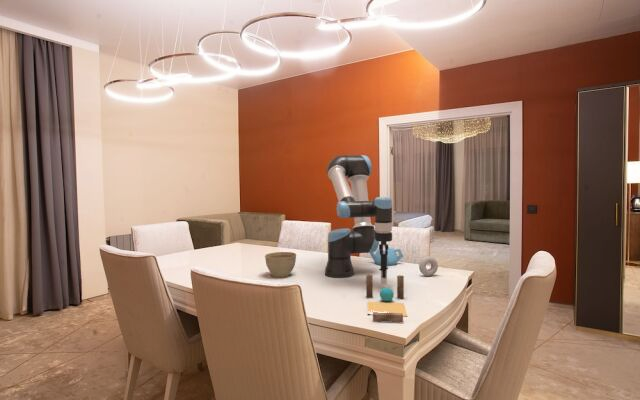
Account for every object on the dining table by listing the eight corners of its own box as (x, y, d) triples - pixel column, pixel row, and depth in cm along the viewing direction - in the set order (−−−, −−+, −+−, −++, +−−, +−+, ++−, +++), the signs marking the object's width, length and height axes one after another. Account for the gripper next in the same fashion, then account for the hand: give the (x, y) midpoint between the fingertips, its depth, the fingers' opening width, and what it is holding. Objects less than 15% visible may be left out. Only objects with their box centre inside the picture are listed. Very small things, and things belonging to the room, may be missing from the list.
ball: (379, 302, 148) (380, 299, 143) (379, 288, 150) (380, 285, 146) (393, 303, 147) (394, 300, 142) (393, 289, 150) (394, 286, 145)
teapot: (384, 267, 204) (384, 248, 203) (367, 263, 217) (367, 245, 216) (404, 264, 212) (404, 245, 212) (386, 259, 225) (386, 242, 224)
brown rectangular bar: (373, 321, 125) (373, 314, 125) (373, 319, 127) (372, 312, 127) (402, 322, 124) (402, 315, 124) (402, 320, 126) (402, 313, 126)
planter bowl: (276, 270, 201) (276, 250, 200) (302, 273, 194) (301, 253, 193) (258, 277, 187) (258, 256, 186) (285, 281, 179) (285, 258, 179)
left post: (366, 297, 151) (366, 276, 151) (366, 295, 154) (366, 274, 153) (372, 298, 151) (372, 276, 150) (372, 296, 153) (372, 274, 153)
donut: (435, 274, 187) (435, 255, 187) (439, 276, 184) (439, 256, 184) (417, 275, 185) (417, 256, 185) (421, 277, 182) (421, 257, 181)
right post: (397, 298, 149) (397, 276, 149) (397, 296, 152) (396, 275, 151) (404, 298, 149) (403, 277, 149) (403, 297, 152) (403, 275, 151)
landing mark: (367, 315, 131) (367, 314, 131) (367, 302, 145) (367, 301, 145) (407, 316, 130) (407, 315, 130) (403, 303, 143) (403, 303, 143)
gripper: (392, 233, 156) (393, 288, 157) (391, 230, 169) (391, 280, 170) (375, 233, 157) (375, 288, 158) (374, 229, 170) (375, 280, 171)
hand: (383, 284), depth 164 cm, fingers closed
